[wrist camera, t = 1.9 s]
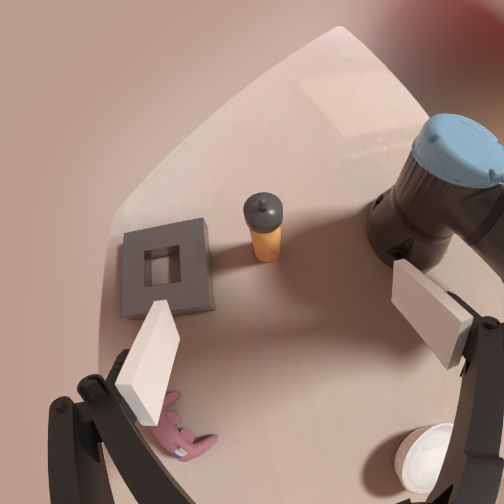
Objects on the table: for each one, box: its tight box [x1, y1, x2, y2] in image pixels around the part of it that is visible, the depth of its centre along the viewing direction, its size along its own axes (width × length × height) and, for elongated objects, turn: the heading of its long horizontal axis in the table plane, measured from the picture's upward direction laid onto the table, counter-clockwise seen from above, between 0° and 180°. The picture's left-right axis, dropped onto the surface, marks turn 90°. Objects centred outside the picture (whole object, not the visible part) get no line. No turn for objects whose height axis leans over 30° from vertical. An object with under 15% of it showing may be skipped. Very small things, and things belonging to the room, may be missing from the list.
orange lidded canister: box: [243, 192, 283, 263], centre depth 38 cm, size 5×5×14 cm
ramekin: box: [394, 422, 454, 494], centre depth 26 cm, size 11×11×5 cm
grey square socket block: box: [121, 218, 215, 320], centre depth 43 cm, size 14×14×3 cm
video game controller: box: [149, 391, 218, 462], centre depth 32 cm, size 10×5×7 cm, turn 42°
